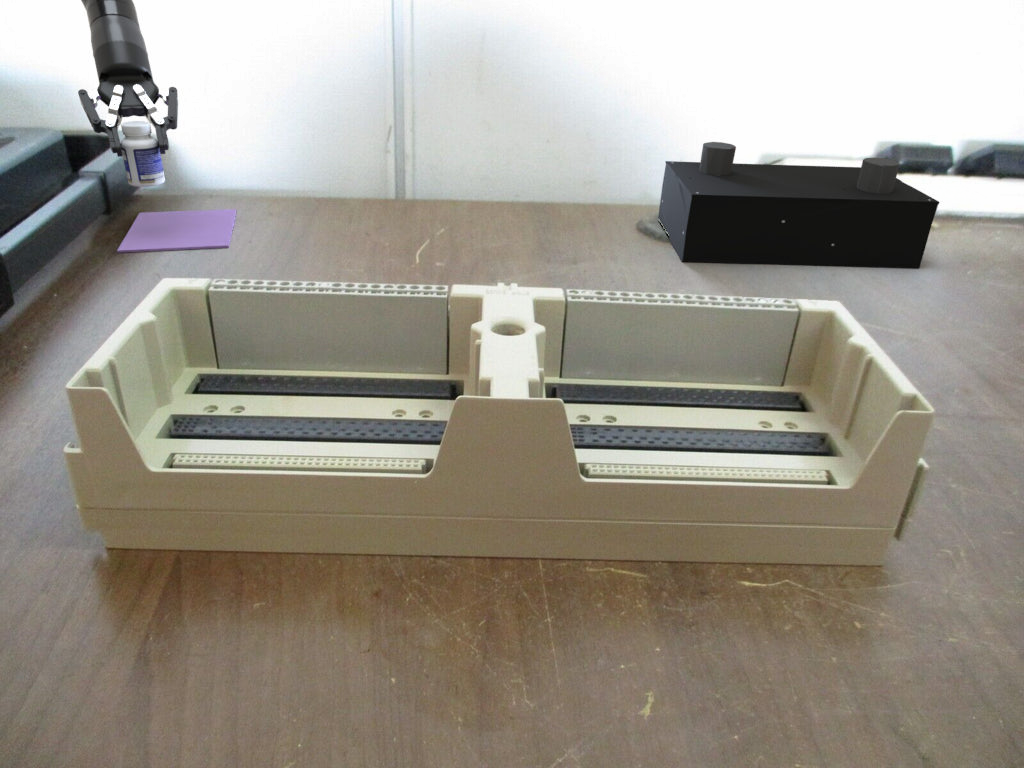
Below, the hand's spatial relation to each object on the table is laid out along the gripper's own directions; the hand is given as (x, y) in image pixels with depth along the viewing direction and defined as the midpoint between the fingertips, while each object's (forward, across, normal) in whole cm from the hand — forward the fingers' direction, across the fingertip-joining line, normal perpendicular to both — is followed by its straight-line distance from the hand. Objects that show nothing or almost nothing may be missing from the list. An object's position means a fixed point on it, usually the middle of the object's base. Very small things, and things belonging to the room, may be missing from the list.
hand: (141, 151), depth 114 cm
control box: (+35, +96, -15) cm, 103 cm away
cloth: (+6, +4, +13) cm, 15 cm away
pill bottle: (+2, 0, +6) cm, 6 cm away
